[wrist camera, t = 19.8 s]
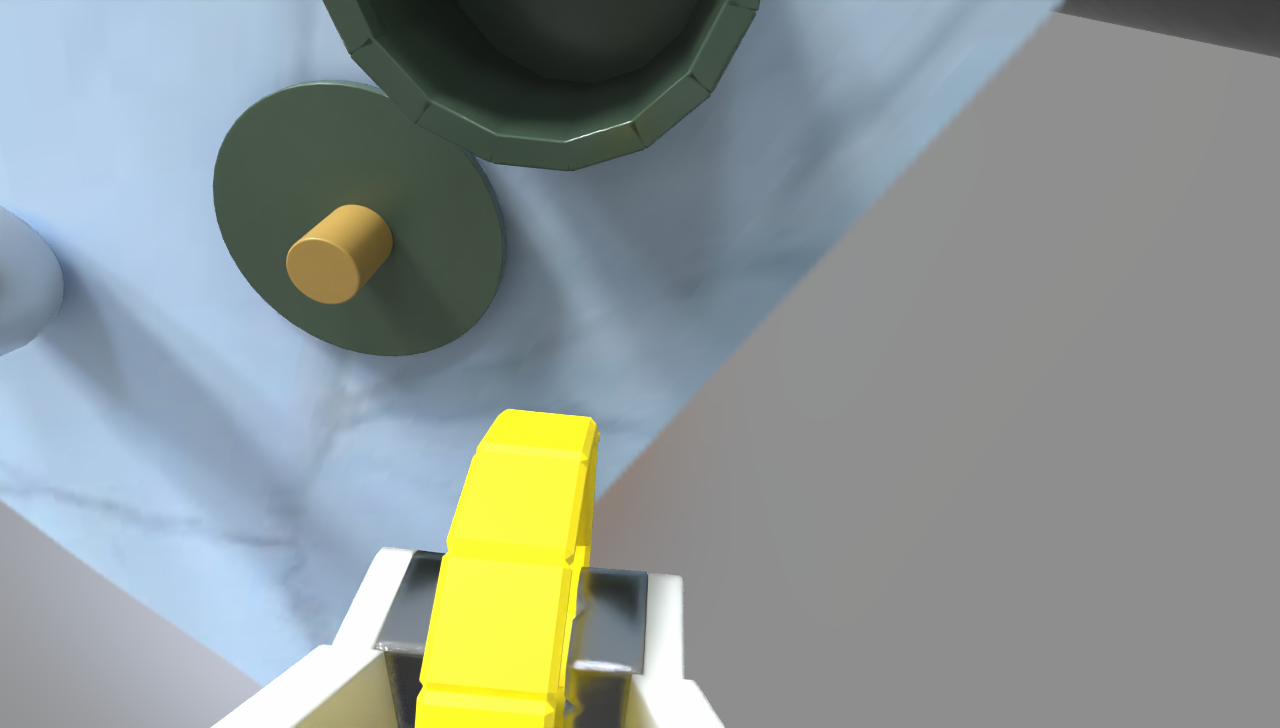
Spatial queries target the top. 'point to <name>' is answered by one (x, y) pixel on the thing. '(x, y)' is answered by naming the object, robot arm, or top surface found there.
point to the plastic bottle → (26, 283)
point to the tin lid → (358, 219)
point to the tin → (544, 70)
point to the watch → (512, 577)
